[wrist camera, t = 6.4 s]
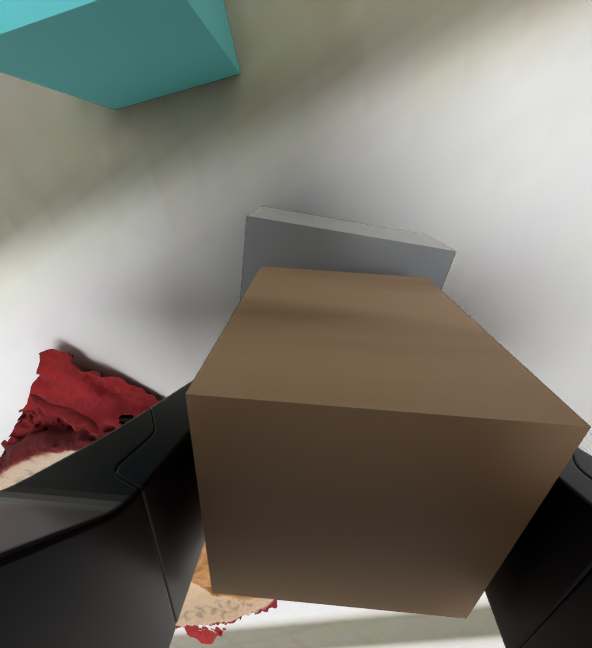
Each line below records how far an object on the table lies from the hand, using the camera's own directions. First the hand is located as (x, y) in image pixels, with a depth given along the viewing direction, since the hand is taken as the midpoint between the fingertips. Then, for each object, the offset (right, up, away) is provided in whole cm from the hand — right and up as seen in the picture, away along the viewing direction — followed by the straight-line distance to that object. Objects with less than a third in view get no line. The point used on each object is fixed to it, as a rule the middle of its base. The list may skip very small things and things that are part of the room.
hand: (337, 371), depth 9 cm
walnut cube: (0, +1, +1) cm, 2 cm away
